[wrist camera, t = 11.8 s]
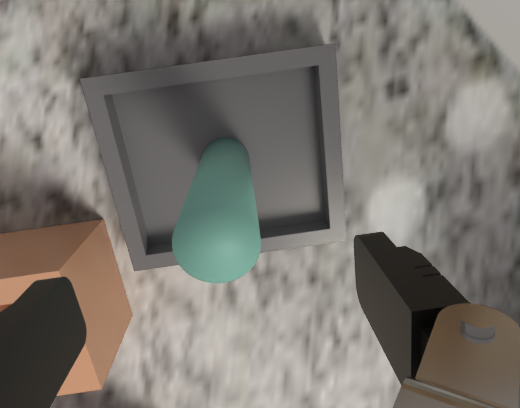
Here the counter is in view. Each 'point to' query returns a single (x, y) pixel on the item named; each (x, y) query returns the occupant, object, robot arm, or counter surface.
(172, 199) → the tray
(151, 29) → the counter surface
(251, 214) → the dowel
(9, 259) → the pot
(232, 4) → the counter surface
